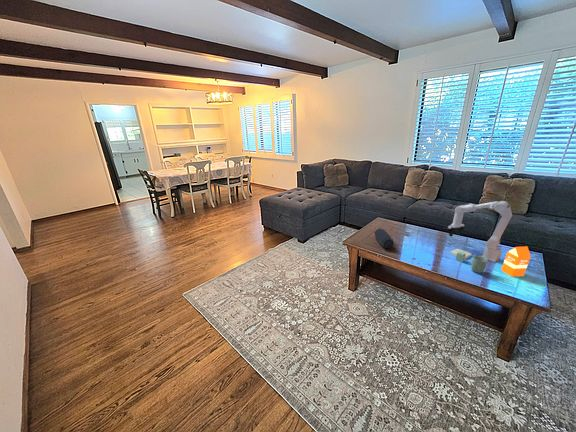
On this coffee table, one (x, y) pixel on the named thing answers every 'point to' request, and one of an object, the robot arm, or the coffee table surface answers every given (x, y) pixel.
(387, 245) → the portable speaker
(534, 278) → the coffee table surface
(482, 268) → the cup
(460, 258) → the block
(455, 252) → the tray
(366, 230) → the coffee table surface
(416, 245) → the coffee table surface
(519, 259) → the orange juice
